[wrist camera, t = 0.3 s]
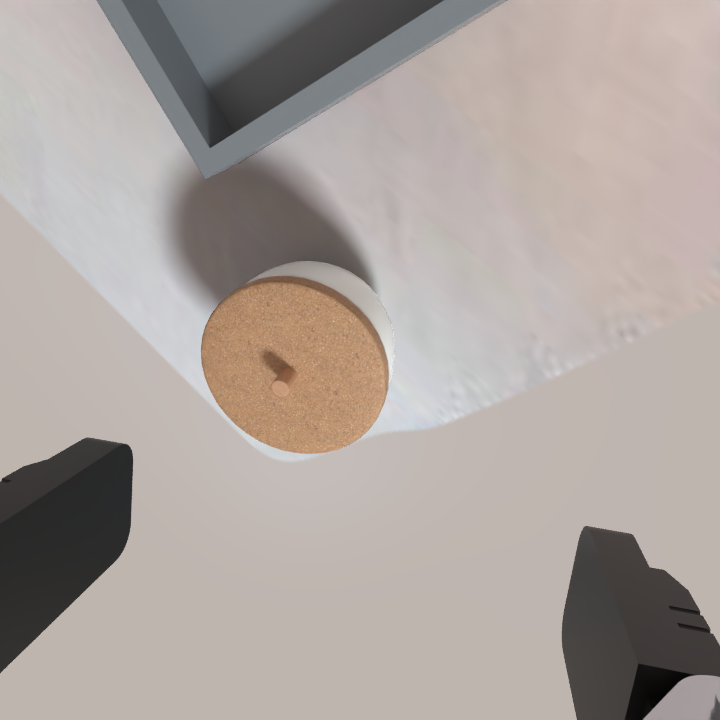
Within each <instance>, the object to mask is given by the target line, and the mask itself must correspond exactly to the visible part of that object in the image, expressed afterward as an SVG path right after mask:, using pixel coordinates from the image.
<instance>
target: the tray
mask: <svg viewBox="0 0 720 720" xmlns="http://www.w3.org/2000/svg"><path fill="white" fill-rule="evenodd" d="M505 1H507V0H97V2H98V4H99V5H100V7H101V8H102V10H103V12H104V13H105V15H106V17H107V18H108V20H109V22H110V23H111V25H112V27H113V28H114V30H115V32H116V33H117V35H118V36H119V38H120V40H121V41H122V43H123V45H124V46H125V48H126V50H127V51H128V53H129V55H130V56H131V58H132V60H133V61H134V63H135V64H136V66H137V68H138V69H139V71H140V73H141V74H142V76H143V78H144V79H145V81H146V83H147V84H148V86H149V88H150V89H151V91H152V92H153V94H154V96H155V97H156V99H157V101H158V102H159V104H160V106H161V107H162V109H163V111H164V112H165V114H166V116H167V117H168V119H169V120H170V122H171V124H172V125H173V127H174V129H175V130H176V132H177V134H178V135H179V137H180V139H181V140H182V142H183V144H184V145H185V147H186V148H187V150H188V152H189V153H190V155H191V157H192V158H193V160H194V162H195V163H196V165H197V167H198V168H199V170H200V172H201V173H202V175H203V176H204V178H205V179H207V178H209V177H211V176H213V175H215V174H218V173H220V172H222V171H224V170H226V169H228V168H230V167H232V166H234V165H236V164H238V163H240V162H241V161H243V160H245V159H246V158H248V157H250V156H251V155H253V154H255V153H256V152H258V151H260V150H261V149H263V148H264V147H266V146H268V145H269V144H271V143H273V142H274V141H276V140H278V139H279V138H281V137H283V136H284V135H286V134H288V133H289V132H291V131H293V130H294V129H296V128H297V127H299V126H301V125H302V124H304V123H306V122H307V121H309V120H311V119H312V118H314V117H316V116H317V115H319V114H321V113H322V112H324V111H325V110H327V109H329V108H330V107H332V106H334V105H335V104H337V103H339V102H340V101H342V100H344V99H345V98H347V97H349V96H350V95H352V94H354V93H355V92H357V91H358V90H360V89H362V88H363V87H365V86H367V85H368V84H370V83H372V82H373V81H375V80H377V79H378V78H380V77H382V76H383V75H385V74H387V73H388V72H390V71H391V70H393V69H395V68H396V67H398V66H400V65H401V64H403V63H405V62H406V61H408V60H410V59H411V58H413V57H415V56H416V55H418V54H420V53H421V52H423V51H424V50H426V49H428V48H429V47H431V46H433V45H434V44H436V43H438V42H439V41H441V40H443V39H444V38H446V37H448V36H449V35H451V34H453V33H454V32H456V31H457V30H459V29H461V28H462V27H464V26H466V25H467V24H469V23H471V22H472V21H474V20H476V19H477V18H479V17H481V16H482V15H484V14H485V13H487V12H489V11H490V10H492V9H494V8H495V7H497V6H499V5H500V4H502V3H504V2H505Z"/></svg>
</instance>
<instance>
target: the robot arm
mask: <svg viewBox="0 0 720 720" xmlns="http://www.w3.org/2000/svg"><path fill="white" fill-rule="evenodd" d="M132 476H133V454H132V450H131V448H130V447H129V445H127V444H122V443H117V442H111V441H105V440H100V439H94V438H85V439H82V440H81V441H79V442H77V443H75V444H74V445H72V446H70V447H69V448H67V449H65V450H64V451H62V452H60V453H58V454H57V455H55V456H53V457H51V458H50V459H48V460H44V461H41V462H38V463H34V464H30V465H27V466H24V467H22V468H20V469H18V470H17V471H15V472H13V473H11V474H9V475H8V476H6V477H4V478H2V481H1V482H0V673H1V672H2V671H3V670H4V669H5V668H6V667H7V666H8V665H9V664H10V663H11V662H12V661H13V660H14V659H15V658H16V657H17V656H18V655H19V654H20V653H21V652H22V651H23V650H24V649H25V648H26V647H27V646H28V645H29V644H31V643H32V642H33V641H34V640H35V639H36V638H37V637H38V636H39V635H40V634H41V633H42V632H43V631H44V630H45V629H46V628H47V627H48V626H49V625H50V624H51V623H52V622H53V621H54V620H55V619H56V618H57V617H58V616H59V615H60V614H61V613H62V612H64V610H66V608H68V607H69V606H70V605H71V604H72V603H73V602H74V601H75V600H76V599H77V598H78V597H79V596H80V595H81V594H82V593H83V592H84V591H85V590H86V589H87V588H88V587H89V586H90V585H91V584H92V583H93V582H94V581H95V580H96V579H97V578H98V577H99V576H101V575H102V574H103V573H104V572H105V571H106V570H107V569H108V568H109V567H110V566H111V565H112V564H113V563H114V562H115V561H116V560H117V559H118V558H119V556H120V555H121V553H122V552H123V550H124V548H125V545H126V543H127V540H128V536H129V532H130V526H131V503H132V502H131V500H132ZM562 647H563V653H564V658H565V663H566V668H567V673H568V678H569V683H570V688H571V693H572V697H573V702H574V707H575V712H576V717H577V720H720V646H719V644H718V642H717V640H716V638H715V636H714V635H713V634H711V633H710V628H709V626H708V624H707V622H706V621H705V619H704V617H703V616H701V615H700V610H699V608H698V607H697V605H696V603H695V602H694V600H693V598H692V596H691V594H690V593H689V591H688V590H687V589H686V588H685V587H684V586H682V585H681V584H680V583H679V582H678V581H677V580H675V579H674V578H673V577H672V576H671V575H670V574H668V573H667V572H666V571H665V570H660V569H655V568H650V567H649V566H648V564H647V561H646V559H645V558H644V555H643V554H642V551H641V549H640V548H639V546H638V543H637V541H636V539H635V538H634V536H633V535H632V534H629V533H623V532H617V531H612V530H606V529H600V528H595V527H589V526H585V527H584V528H583V530H582V532H581V535H580V538H579V542H578V546H577V551H576V556H575V561H574V566H573V570H572V575H571V580H570V585H569V590H568V594H567V599H566V604H565V609H564V615H563V623H562Z"/></svg>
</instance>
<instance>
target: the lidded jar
mask: <svg viewBox="0 0 720 720" xmlns="http://www.w3.org/2000/svg"><path fill="white" fill-rule="evenodd" d="M201 358H202V366H203V371H204V375H205V379H206V381H207V384H208V386H209V389H210V391H211V393H212V395H213V396H214V398H215V400H216V402H217V403H218V405H219V406H220V407H221V409H222V410H223V411H224V413H225V414H226V415H227V416H228V417H229V418H230V419H231V420H232V421H233V422H234V423H235V424H236V425H237V426H238V427H240V428H241V429H242V430H243V431H245V432H246V433H247V434H249V435H250V436H252V437H254V438H255V439H257V440H258V441H261V442H263V443H265V444H267V445H269V446H272V447H275V448H278V449H281V450H283V451H289V452H294V453H304V454H315V453H326V452H330V451H334V450H338V449H340V448H343V447H345V446H347V445H350V444H351V443H353V442H354V441H356V440H358V439H359V438H360V437H362V436H363V435H364V434H365V433H366V432H367V431H368V430H369V429H370V428H371V426H372V425H373V424H374V422H375V421H376V420H377V418H378V415H379V413H380V411H381V409H382V407H383V405H384V402H385V399H386V395H387V391H388V387H389V384H390V380H391V376H392V373H393V367H394V359H395V341H394V332H393V328H392V324H391V320H390V318H389V315H388V313H387V311H386V309H385V307H384V305H383V303H382V302H381V300H380V299H379V297H378V296H377V294H376V293H375V292H374V291H373V290H372V289H371V287H370V286H369V285H367V284H366V283H365V282H364V281H363V280H362V279H361V278H359V277H358V276H356V275H354V274H353V273H351V272H350V271H348V270H345V269H343V268H341V267H339V266H335V265H332V264H329V263H324V262H316V261H297V262H292V263H287V264H283V265H279V266H277V267H274V268H271V269H269V270H267V271H265V272H263V273H261V274H259V275H258V276H256V277H254V278H253V279H251V280H250V281H248V282H247V283H246V284H244V285H243V286H241V287H240V288H238V289H236V290H235V291H233V292H232V293H231V294H230V295H229V296H227V297H226V298H225V299H224V300H223V301H222V302H221V303H220V304H219V305H218V306H217V307H216V309H215V310H214V311H213V313H212V314H211V316H210V318H209V320H208V322H207V324H206V326H205V330H204V333H203V337H202V345H201Z"/></svg>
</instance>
